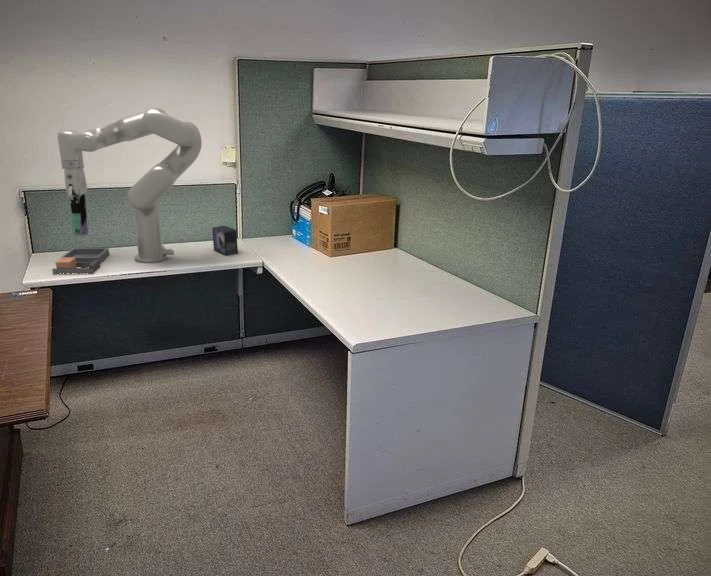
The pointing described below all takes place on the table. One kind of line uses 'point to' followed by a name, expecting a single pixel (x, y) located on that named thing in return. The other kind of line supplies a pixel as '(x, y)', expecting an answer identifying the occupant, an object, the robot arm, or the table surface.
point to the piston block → (66, 263)
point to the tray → (88, 254)
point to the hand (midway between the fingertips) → (79, 211)
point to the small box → (225, 240)
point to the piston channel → (92, 268)
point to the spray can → (80, 219)
